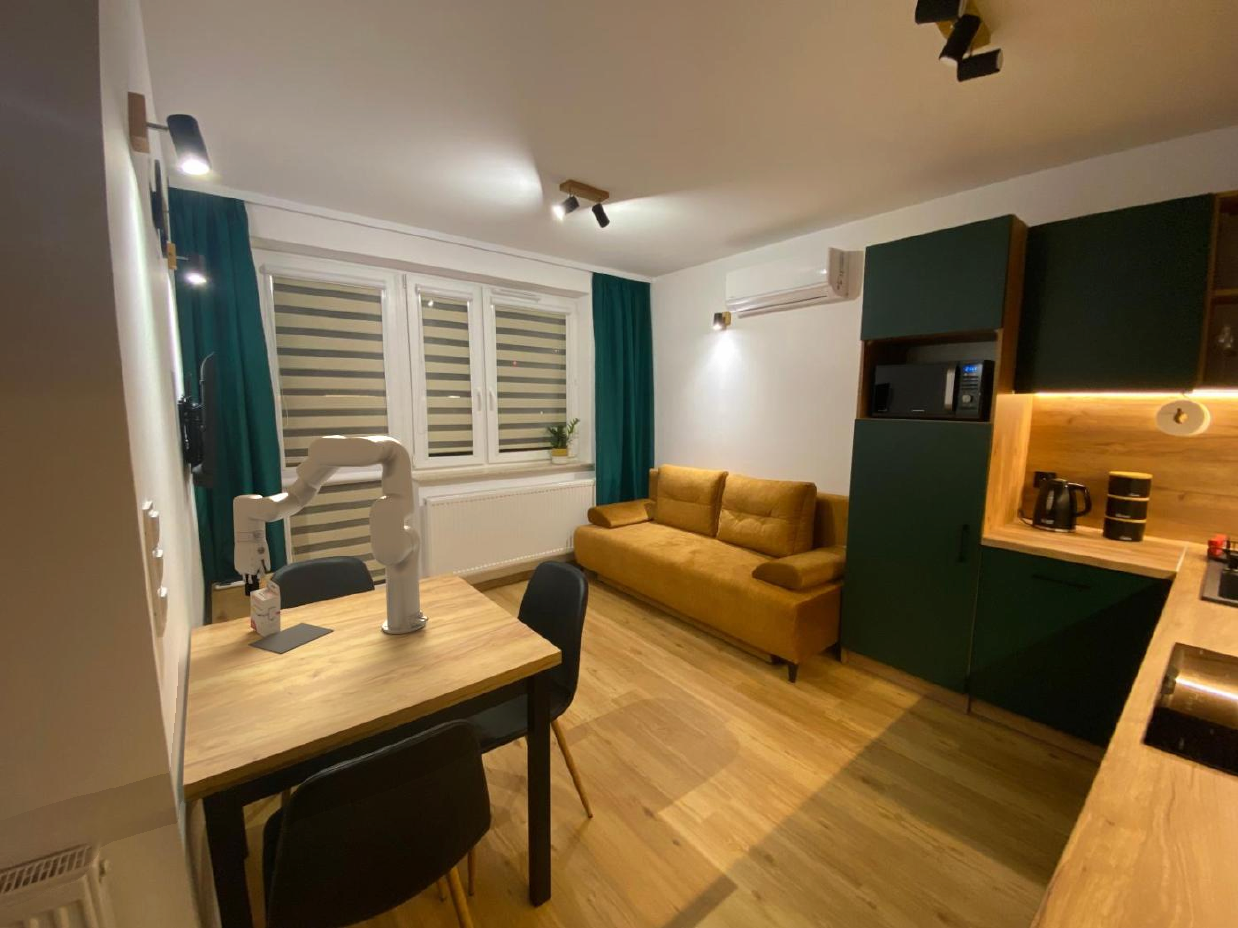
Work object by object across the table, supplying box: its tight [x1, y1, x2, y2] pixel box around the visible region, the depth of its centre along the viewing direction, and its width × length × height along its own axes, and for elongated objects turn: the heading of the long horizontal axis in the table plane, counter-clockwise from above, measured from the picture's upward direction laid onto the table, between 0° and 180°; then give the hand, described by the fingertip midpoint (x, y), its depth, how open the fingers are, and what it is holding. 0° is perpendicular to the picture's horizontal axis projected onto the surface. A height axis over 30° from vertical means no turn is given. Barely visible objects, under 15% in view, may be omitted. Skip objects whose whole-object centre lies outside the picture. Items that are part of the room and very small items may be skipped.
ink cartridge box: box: [250, 578, 282, 638], centre depth 150 cm, size 9×5×15 cm, turn 58°
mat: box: [247, 622, 335, 655], centre depth 147 cm, size 14×16×1 cm
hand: (252, 594), depth 152 cm, fingers closed
